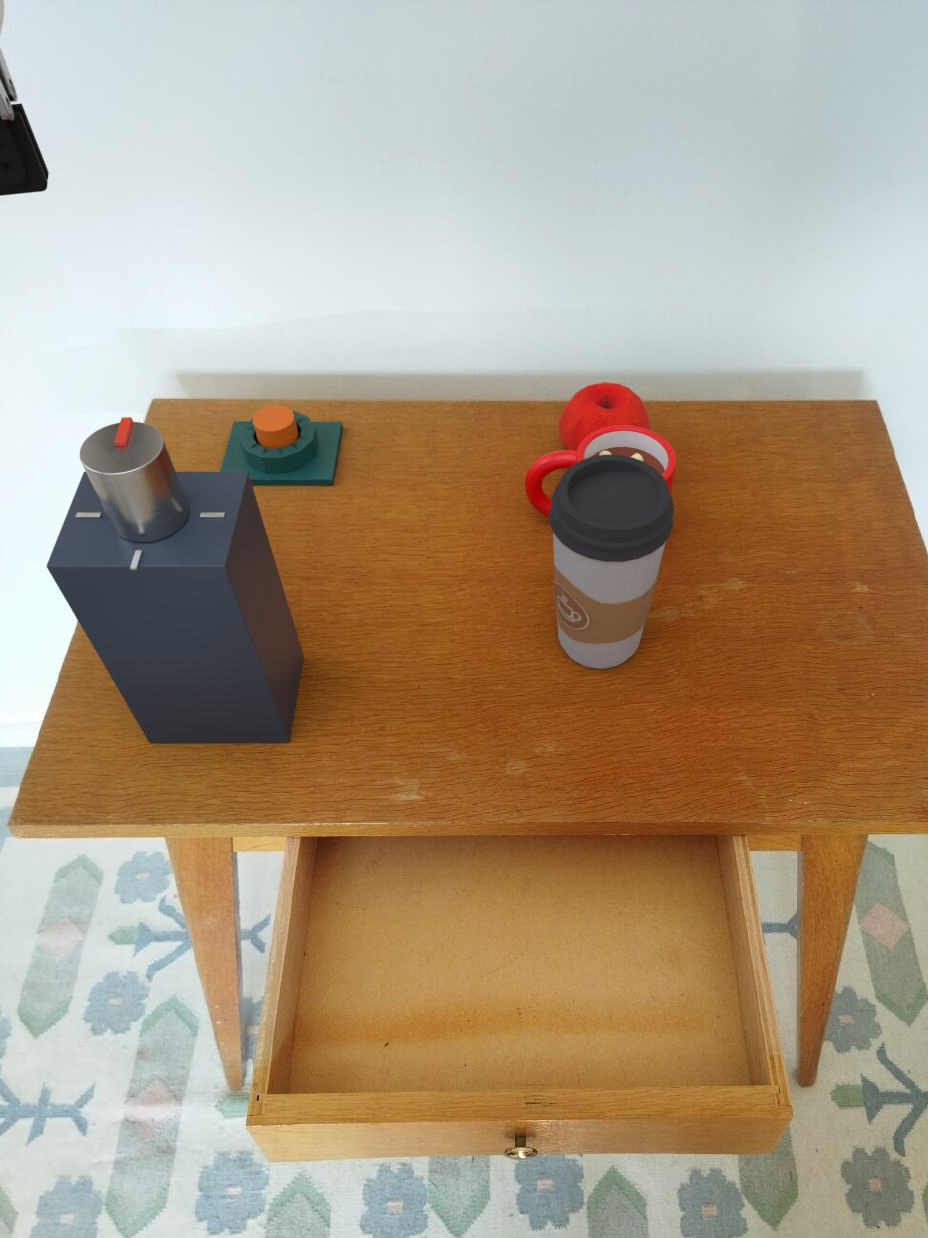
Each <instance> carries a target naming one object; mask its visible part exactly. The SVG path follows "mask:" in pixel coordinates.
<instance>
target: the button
mask: <svg viewBox="0 0 928 1238" xmlns="http://www.w3.org/2000/svg"><path fill="white" fill-rule="evenodd" d="M293 411H294V410H292V409H291V408H289V407H288V406H285V405H280V404H271V405H267V406H264V407H262V408H260V409H259V410H257V411H256V412H255V413H254V414H253V416H252V418H253V425H254V428H255V432H256V435H257V439H258V442H259V444H260V445H261V446H263V447H265V448H283V447H286V446H289V445H292V444H293V443H294V442H295V441H296V440H297V439H298V436H299V433H298V429H297V425H296V420H295V416H294V413H293Z"/></svg>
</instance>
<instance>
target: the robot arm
mask: <svg viewBox="0 0 928 1238" xmlns="http://www.w3.org/2000/svg"><path fill="white" fill-rule="evenodd" d="M4 18H5V2H4V0H0V36H1V34H2V29H3V24H4ZM18 99H19V98H18V93H17V90H16V87H15V84H14V81H13V79H12V76H11V73H10V71H9V67H8V64H7V62H6V59H5V56H4V53H3V51H2V49H1V47H0V197H1V196H11V195H22V194H30V193H40V192H45V191H46V190H47V189H48V180H49V174H50V173H49V169H48V167H47V164H46V161H45V159H44V157H43V154H42V152H41V149H40V147H39V144H38V141H37V139H36V136H35V134H34V131H33V128H32V126H31V124H30V121H29V119H28V115H27V113H26V111H25V108H24V105H23V103H15V102H18ZM12 103H13V104H12Z"/></svg>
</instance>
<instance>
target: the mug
mask: <svg viewBox="0 0 928 1238" xmlns="http://www.w3.org/2000/svg"><path fill="white" fill-rule="evenodd" d="M599 455H622V456H628V457H633V458H635V459H638V460H641V461H643V462H646V463H647V464H649V465H650V466H652V467H653V468H655V469H656V470H657V471H658V472H659V473H660V474H661V475H662V476H663V477H664V479H665V481H666V483H667V485H668V487H669V493H670V495H671V496H672V490H673V485H674V484H673V483H674V478H675V473H676V472H675V471H676V466H677V455H676V453H675V450H674V448H673V446H672V445H671V444H670V443H669V441H668V440H666V438H664V437H663V436H662V435H660V434H659V433H657V432H656V431H653V430H650V429H649V430H648V429H646V428H642V427H638V426H631V425H615V426H609V427H605V428H601V429H599V430H597V431H594V432H593V433H591V434H590V435H588V436H587V437H586V438H585V439H584V440H583V441H582V442H581V444H580V445H579V447H578V450H577V451H574V450H565V449H560V450H559V449H558V450H553V451H550V452H548V453H546V454H544V455H541V456H540V457H539V458H538V459H536V460H535V461H534V462H533V463H532V464H531V466H530V467H529V469H528V470H527V472H526V475H525V478H524V491H525V494H526V497H527V500H528V501H529V503H530V504H531V506H532V507H533V508H534V509H535V510H536V512H538V513H540V514H541V515H543V516H545V517H547V518H549V510H550V508H551V499H552V498H550V497H549V496H548V495H547V494H546V492H545V490H544V489H543V481H544V479H545V478H546V477H547V476H548V475H549V474H550V473H552V472H555V471H557V470H562V469H569V468H570V467H571V466H573V465H574V464H576V463H577V462H579V461H581V460H584V459H587V458H589V457H593V456H599Z"/></svg>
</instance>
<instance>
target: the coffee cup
mask: <svg viewBox="0 0 928 1238" xmlns="http://www.w3.org/2000/svg"><path fill="white" fill-rule="evenodd" d="M550 499H551V508H550V510H549V517H548V522H549V526H550V527H551V530H552V543H553V544H552V546H553V561H552V562H553V564H552V567H553V586H554V600H555V601H554V603H555V616H556V619H557V620H556V621H557V638H558V641H559V644H560V647H561V648H562V650H563V651H565V653H566V654H567V656H568V657H569V658H570V659H571V660H573V661H574V662H575V663H577V664H579V665H581V666H583V667H585V668H591V669H596V670H597V669H599V670H600V669H601V670H603V669H610V668H615V667H617V666H619V665H622V664H623V663H625V662H626V661H628V660H629V659H630V658H631V657H632V656H633V655H634V654H635V653H636V651H637V650H638V648H639V646H640V642H641V640H642V639H641V638H642V636H643V631H644V628H645V624H646V622H647V620H648V617H649V613H650V609H651V605H652V602H653V598H654V594H655V590H656V585H657V582H658V578H659V574H660V572H661V562H662V558H663V554H664V550H665V546H666V542H667V540H668V539H669V538H670V537H671V535H672V531H673V528H674V512H675V509H674V500H673V497H672V494H671V495H670V493H669V487H668V485H667V483H666V481H665V479H664V477H663V476H662V475H661V474H660V473H659V472H658V471H657V470H656V469H655V468H653V467H652V466H650V465H649V464H647V463H646V462H643V461H641V460H638V459H635V458H633V457H628V456H622V455H599V456H593V457H589V458H587V459H584V460H581V461H579V462H577V463H576V464H574V465H573V466H571V467H570V468H567V469H566V471H564V473H563V474H562V475H561V477H560V480H559V481H558V484H557V485H556V486H555V488H554V490H553V493H552V496H551V498H550Z"/></svg>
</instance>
